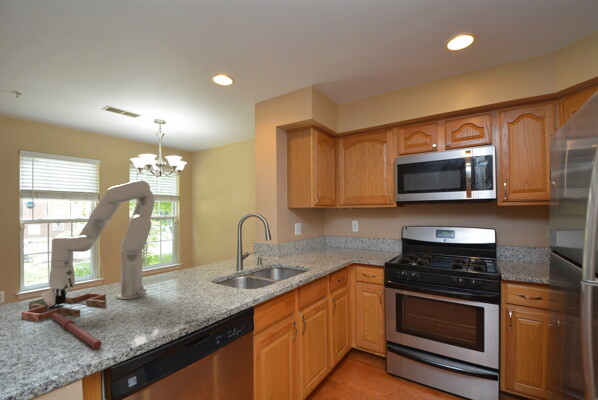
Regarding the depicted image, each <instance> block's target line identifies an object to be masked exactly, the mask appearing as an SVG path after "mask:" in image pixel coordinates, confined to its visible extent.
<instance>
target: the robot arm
mask: <svg viewBox="0 0 598 400" xmlns="http://www.w3.org/2000/svg"><path fill="white" fill-rule="evenodd" d="M134 199H135V200H136V204H135V205H134V206H135V207H134V209H133V212H132V216H131V217H130V220H129V221H128V227H127V231H126V233H125V237H123V239H122V240H121V242H120V293H118V294H116V298H117V300H130V299H136V298H139V297H143V296H145V294H146V292H147V291H148V290H147V289H146V288H144V285H143V250H144V248H145V247H146V244H147V241H148V237H149V235H150V232H151V229H152V220H151V218H152V214H153V211H154V208H155V201H156V200H155V196H154V193H153V192H152V190H151V186H150V183H148V182H147V181H145V180H143V179H141V180H135V181H130V182H127V183H123V184H120V185H119V184H118V185H114V186H111V187H109V188H107V189H106V190H105V192H104V194H103V196H102V197H101V199H100V200H98V201H99V202H98V203H97V204H96V206H95V207H94V209H93V211H92V212H91V213H90V216H89V218H88V220H87V222H86V224H85V225H84V227H83V229H81V232H80V233H79V235H77V236H56V237H54V238H52V239H51V255H50V256H51V257H50V272H49V279H48V286H49V288H50V290H51V289H54V292H55V306H59V305H62V304H66V303H65V302H66V297H67V294H68V292H70V291H72V290H71V288H74V287H75V283H76V282H75V281H76V280H75V279H76V278H75V270H74V266H73V262H74V252H75V253H76V252H81V253H82V252H83V253H84V252H88V251H90V250H91V249H92V248H93V246H94V244H95V243H96V241H97V239H98V238H99V236H100V235H101V233H102V231H103V230H104V228H106V226H107V225H108V224H109V223H110V222H111V220H112V218H113V217H114V216H115V214H116V213H117V211H118V209H119V208H120V206H121V205H122V203H124V202H128V201H129V202H130V201H132V200H134Z"/></svg>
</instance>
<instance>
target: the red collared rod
mask: <svg viewBox="0 0 598 400" xmlns="http://www.w3.org/2000/svg"><path fill="white" fill-rule="evenodd" d="M50 318H52V319H53V320H55V322H57V323H58V324H60V325H61V327H62V328H63V329H64V330H65V331H69V332H71V333H72V334H74V335H75V336H77V337H78V338H79V339H81V340H82V341H83V342H84V343H86V344H88V346H90V347H92V348H93V349H96V350H97V349H99V348H101V346H102V341H101V340H100V339H98V338H96V337H95V336H93V335H92V334H91V333H89V332H88V331H86V330H85V329H83V328H82V327H80V326H78V325H77V324H75V321H74V320H72V319H68V318H66V317H64V315H62V314H59V313H53V314H52V316H51V317H50Z"/></svg>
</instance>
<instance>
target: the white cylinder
mask: <svg viewBox="0 0 598 400" xmlns="http://www.w3.org/2000/svg"><path fill="white" fill-rule="evenodd" d="M40 296H41V297H42V298H43V299H44V301H45V302H46V304H47V305H48V309H50V308H51V307H55V306H56V305H55V292H54V289H51V288H50V289H49V290H47V291H46V290H45V291H44V292H43V293H41V294H40Z"/></svg>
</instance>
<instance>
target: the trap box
mask: <svg viewBox="0 0 598 400" xmlns="http://www.w3.org/2000/svg"><path fill="white" fill-rule="evenodd" d="M106 295H107V294H105V293H96V292H87V293H83V294H81V295H78V296H74V297H73V296H66V302H65V303H64V304H66V303H67V304H76V305H85V306H91V307H97V308H98V307H99V308H107V301H106V297H107V296H106ZM48 309H49V307H48V305H47V304H46V302H45V301H44V299H43V297H42V298H38V299H35V300H34V299H33V300H30V301H29V302H28V310H24V311H22V312H21V316H20V317H21V318H20V319H24V320H29V321H35V322H41V321H44V320H47V319H49V318H52V317H51V316H52V314H53V313H59V314H60V315H62V316H64V315H65V316H70V317H76V318H77V317H81V309H75V308H68V307H62V306H61V307H59V308H55V309H52V310H48Z"/></svg>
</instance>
